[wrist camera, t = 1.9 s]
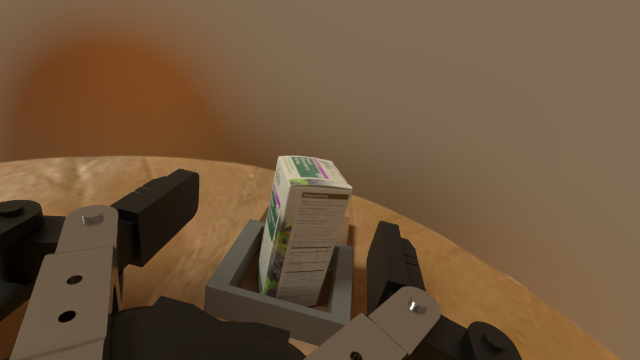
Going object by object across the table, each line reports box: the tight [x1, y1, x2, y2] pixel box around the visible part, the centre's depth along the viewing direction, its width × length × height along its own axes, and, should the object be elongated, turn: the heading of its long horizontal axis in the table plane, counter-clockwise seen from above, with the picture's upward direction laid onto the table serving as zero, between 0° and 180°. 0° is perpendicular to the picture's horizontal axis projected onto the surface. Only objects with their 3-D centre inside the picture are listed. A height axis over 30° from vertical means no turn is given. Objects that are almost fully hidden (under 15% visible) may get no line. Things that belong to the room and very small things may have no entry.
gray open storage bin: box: [204, 219, 354, 346], centre depth 31 cm, size 13×11×4 cm
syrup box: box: [257, 156, 352, 306], centre depth 29 cm, size 6×6×14 cm
